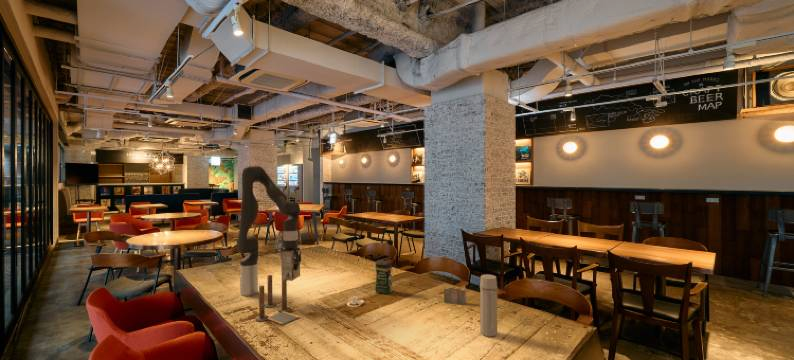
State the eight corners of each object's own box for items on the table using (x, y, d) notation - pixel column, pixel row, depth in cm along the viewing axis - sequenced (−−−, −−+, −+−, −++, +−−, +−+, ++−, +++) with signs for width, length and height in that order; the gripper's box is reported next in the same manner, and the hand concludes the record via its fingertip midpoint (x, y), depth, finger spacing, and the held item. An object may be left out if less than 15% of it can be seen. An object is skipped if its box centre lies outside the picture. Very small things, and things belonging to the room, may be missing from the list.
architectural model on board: (466, 303, 192) (465, 285, 192) (465, 305, 189) (465, 287, 189) (445, 301, 195) (444, 283, 195) (444, 303, 192) (444, 285, 192)
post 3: (275, 311, 182) (275, 279, 181) (285, 307, 187) (285, 277, 186) (283, 313, 178) (282, 282, 178) (293, 309, 183) (292, 279, 183)
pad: (266, 319, 171) (266, 317, 171) (283, 312, 180) (283, 311, 180) (282, 325, 165) (282, 323, 164) (299, 318, 173) (299, 316, 173)
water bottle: (477, 330, 158) (477, 274, 157) (494, 329, 158) (494, 273, 158) (484, 340, 149) (483, 280, 148) (502, 339, 149) (502, 280, 149)
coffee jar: (373, 293, 208) (373, 261, 208) (379, 289, 215) (379, 258, 215) (388, 295, 204) (388, 263, 204) (394, 291, 211) (393, 259, 211)
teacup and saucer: (365, 303, 193) (365, 296, 192) (358, 308, 185) (358, 300, 185) (352, 301, 196) (351, 293, 196) (344, 306, 189) (343, 298, 189)
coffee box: (290, 275, 198) (289, 246, 198) (300, 276, 197) (300, 247, 196) (281, 280, 189) (280, 250, 189) (292, 281, 188) (291, 250, 188)
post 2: (261, 306, 189) (261, 276, 188) (271, 302, 193) (271, 273, 193) (268, 308, 185) (268, 278, 185) (278, 305, 190) (278, 275, 190)
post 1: (252, 319, 171) (252, 286, 171) (263, 315, 176) (263, 283, 176) (260, 322, 168) (259, 289, 167) (271, 318, 172) (270, 285, 172)
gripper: (276, 238, 194) (276, 268, 194) (293, 241, 185) (293, 272, 186) (287, 236, 200) (288, 265, 200) (304, 239, 191) (305, 269, 192)
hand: (290, 268), depth 193 cm, fingers closed on coffee box, 8 cm apart
